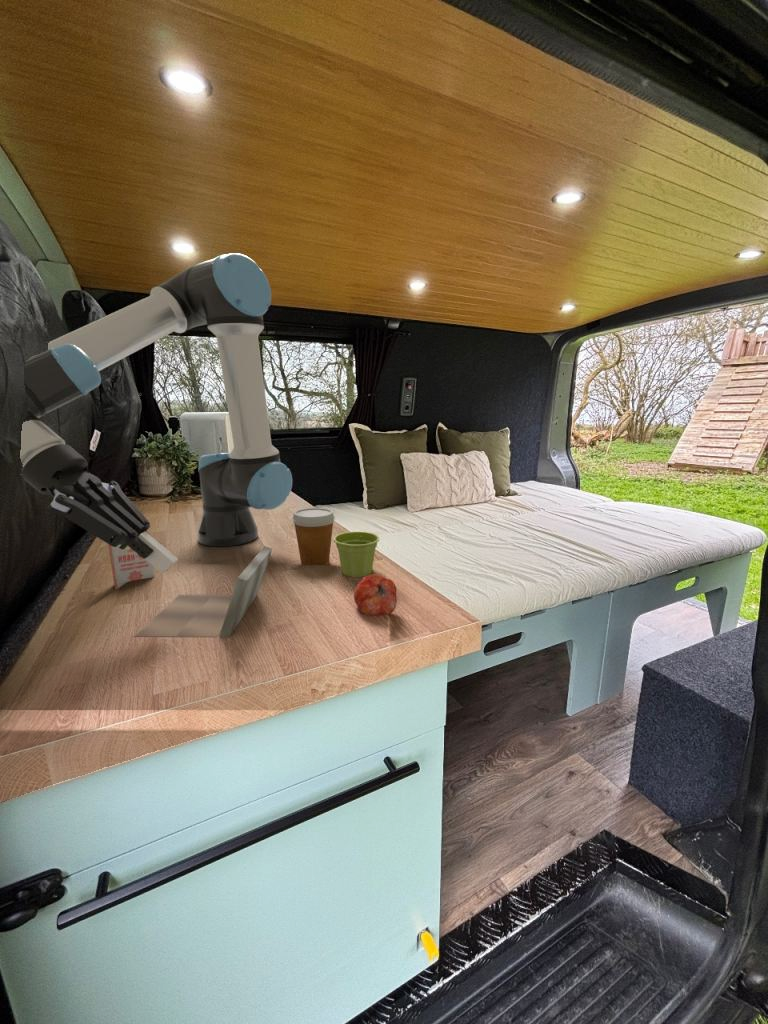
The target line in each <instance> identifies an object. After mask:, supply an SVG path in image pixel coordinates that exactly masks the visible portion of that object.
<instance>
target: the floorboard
mask: <svg viewBox="0 0 768 1024" xmlns="http://www.w3.org/2000/svg"><path fill="white" fill-rule="evenodd" d="M232 595H233V594H178V596H176V598H174V599H173V600H171V602H170V603H169V604H168V605H167V606H165V607H164V609H162V610H161V611H160V612H159V613H158V614H157V615H156V616H155V617H154V618H152V619H151V621H149V622H148V623H147V624H146V625H145V626H144V627H143V628H142V629H141V630H140V631H139V632H138V633H136V635H134V637H135V638H170V637H171V638H217V637H218V635H220V633H221V630H222V626H223V623H224V620H225V617H226V614H227V610H228V607H229V604H230V601H231V598H232Z"/></svg>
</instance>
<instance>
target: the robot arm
mask: <svg viewBox="0 0 768 1024" xmlns="http://www.w3.org/2000/svg"><path fill="white" fill-rule="evenodd" d="M271 304H272V290H271V286H270V283H269V280H268V278H267V275H266V274H265V272H264V271H263V270H262V269H261V268H260V267H259V265H258V263H256V262H255V261H254V260H253V259H252V258H250V257H248V256H247V255H244V254H242V253H236V252H235V253H228V254H224V253H223V254H220V255H218V256H216V257H215V258H212V259H208V260H205V261H203V262H199V263H196V264H194V265H191V266H189V267H187V268H185V269H183V270H182V271H180V272H179V273H177V274H176V275H174V276H173V277H171V278H170V279H168V280H166V281H164V282H162V283H161V284H159V285H156V286H154V287H153V288H151V290H150V294H149V296H147V297H145V298H142V299H140V300H137V301H136V302H133V303H131V304H129V305H127V306H125V307H123V308H121V309H118V310H116V311H114V312H111V313H110V314H108V315H105V316H103V317H101V318H99V319H96V320H95V321H92V322H90V323H88V324H85V325H84V326H81V327H79V328H77V329H75V330H73V331H70V332H68V333H66V334H64V335H62V336H60V337H57V338H55V339H53V340H51V341H48V342H49V343H48V342H47V343H48V350H47V351H45V352H42V353H40V354H37V355H34V356H32V357H30V358H29V359H28V360H27V361H26V363H25V366H24V385H25V390H26V395H27V394H28V395H29V396H28V395H27V399H28V403H29V408H30V411H28V412H27V414H26V417H25V419H24V421H25V422H23V424H22V431H21V450H20V459H21V462H22V464H23V465H22V466H23V469H22V474H21V477H22V476H23V478H24V479H23V478H22V479H23V480H24V481H25V482H26V483H28V484H29V485H30V486H31V487H32V488H33V489H35V490H36V491H37V492H39V493H40V494H41V495H50V497H52V498H53V500H52V501H51V502H50V504H48V506H47V510H48V511H49V512H51V513H54V514H56V515H59V516H61V517H62V518H66V519H67V520H69V521H70V522H72V523H74V524H75V525H76V526H78V527H80V528H82V529H83V530H85V531H87V532H88V533H90V534H91V535H93V536H95V537H96V538H98V539H100V540H101V541H102V542H104V543H106V544H107V545H108V546H109V545H111V546H113V547H117V546H118V545H121V546H120V547H119V548H120V549H125V548H126V547H127V546H129V547H130V548H131V549H132V550H134V551H135V552H136V553H137V554H139V555H140V556H141V557H142V558H144V559H146V560H147V561H148V562H149V563H150V564H152V565H153V568H155V569H156V570H158V572H160V573H161V574H162V575H163V574H165V573H166V572H168V571H169V570H170V569H171V567H172V566H174V565H175V563H176V562H177V561H179V559H178V558H177V557H176V556H175V555H174V554H172V552H170V551H169V550H168V549H167V548H166V547H164V546H163V545H162V544H161V542H159V541H158V540H157V539H156V538H155V537H153V535H151V534H150V533H149V532H148V530H149V529H150V528H151V523H150V521H149V520H148V519H147V518H146V516H145V515H144V514H143V513H142V512H141V510H139V509H138V508H137V506H136V505H135V504H134V503H133V502H132V501H131V500H130V498H128V496H127V495H126V494H125V493H124V492H123V490H122V489H121V486H120V484H119V483H118V482H117V481H115V480H111V481H110V482H109V483H106V482H102V480H101V479H100V478H99V477H98V476H96V475H94V474H92V473H91V472H89V470H88V461H87V460H86V458H85V457H83V456H82V455H81V454H80V453H79V452H78V451H77V450H75V449H74V448H73V447H72V446H71V445H69V444H66V440H64V439H63V438H62V437H61V436H60V435H58V434H57V433H56V432H55V431H54V430H52V429H51V428H50V427H49V426H48V425H46V424H45V423H44V422H43V421H42V420H41V419H40V418H43V417H44V416H46V414H49V413H50V412H51V413H52V412H53V411H55V410H57V409H59V408H61V407H62V406H65V405H67V404H69V403H71V402H72V401H74V400H76V399H79V398H81V397H83V396H87V395H88V394H89V393H90V392H91V391H93V390H95V389H97V388H98V387H99V386H100V385H101V383H102V376H101V374H100V371H102V370H104V369H106V368H108V367H109V366H111V365H113V364H115V363H117V362H119V361H120V360H123V359H124V358H126V357H128V356H130V355H132V354H134V353H136V352H138V351H140V350H142V349H143V348H145V347H147V346H149V345H151V344H153V343H154V342H157V341H159V340H160V339H162V338H164V337H166V336H168V335H170V334H172V333H173V332H174V333H177V334H182V333H185V332H187V331H188V330H191V329H193V328H196V327H200V326H205V325H207V329H208V331H210V332H211V333H212V334H213V335H214V336H215V337H216V340H217V347H218V353H219V359H220V366H221V371H222V372H221V373H222V378H223V386H224V392H225V399H226V404H227V405H226V406H227V410H228V416H229V417H228V418H229V419H228V420H229V424H230V430H231V437H232V444H233V449H231V451H230V452H221V453H211V454H203V455H201V456H199V459H198V468H197V469H198V470H197V471H198V474H199V482H200V483H199V484H200V493H201V503H202V517H201V520H200V523H199V527H198V528H199V529H198V533H197V535H198V542H199V543H200V544H201V545H204V546H207V547H208V546H209V547H230V546H231V547H232V546H238V545H243V544H246V543H250V542H252V541H254V540H255V541H256V539H257V538H258V537H259V529H258V525H257V523H256V521H255V517H254V515H253V514H252V511H251V509H250V508H252V509H255V510H275V509H276V508H278V507H280V506H281V505H283V504H284V503H285V501H286V500H287V498H288V497H289V496H290V494H291V491H292V488H293V475H292V472H291V469H290V468H288V467H287V465H286V464H284V463H283V462H281V457H280V451H279V450H278V448H276V447H275V446H274V445H273V444H272V438H271V437H272V436H271V429H270V422H269V414H268V405H267V397H266V396H267V395H266V390H265V382H264V375H263V373H264V372H263V365H262V357H261V351H260V342H259V336H260V334H261V333H262V331H263V330H264V329H265V325H264V318H263V317H264V315H265V314H266V313H267V311H268V310H269V307H271ZM33 401H34V402H33ZM37 407H38V408H37ZM39 410H40V411H39ZM40 412H41V414H40ZM27 420H29V421H27Z"/></svg>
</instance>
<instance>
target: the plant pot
mask: <svg viewBox="0 0 768 1024" xmlns="http://www.w3.org/2000/svg"><path fill="white" fill-rule="evenodd" d="M333 542H334V543H335V546H336V548H337V551H338V556H339V564H340V570H341V574H343V575H345V576H347V577H353V578H354V577H355V578H358V577H359V578H360V577H366V576H368V575H369V574H372V572H373V570H374V569H373V566H374V561H375V559H374V558H375V553H376V548H377V547H378V546H377V545H378V543H379V542H380V536H379V535H377V533H376V534H375V533H373V532H372V533H371V532H367V531H350V532H348V531H347V532H342V533H338V534H337V535H335V536H334V537H333Z"/></svg>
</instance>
